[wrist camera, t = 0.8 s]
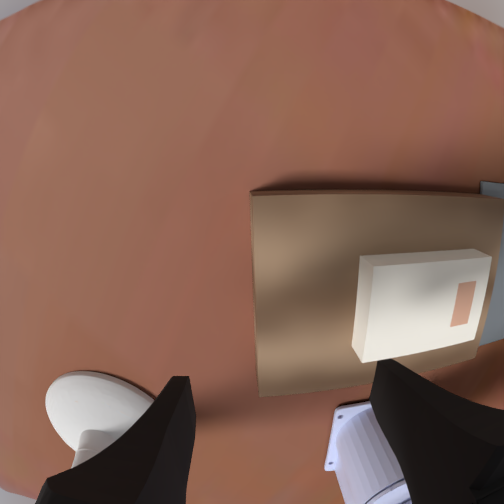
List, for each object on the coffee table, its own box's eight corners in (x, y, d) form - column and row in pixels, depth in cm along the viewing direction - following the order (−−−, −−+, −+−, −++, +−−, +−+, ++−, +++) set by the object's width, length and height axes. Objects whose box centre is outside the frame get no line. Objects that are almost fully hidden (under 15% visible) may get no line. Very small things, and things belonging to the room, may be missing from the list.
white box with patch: (473, 248, 18) (492, 256, 16) (459, 327, 20) (474, 339, 18) (359, 255, 18) (373, 266, 16) (351, 346, 20) (362, 363, 18)
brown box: (456, 341, 24) (474, 358, 21) (256, 371, 23) (259, 397, 20) (480, 193, 20) (504, 199, 18) (249, 191, 20) (252, 196, 17)
